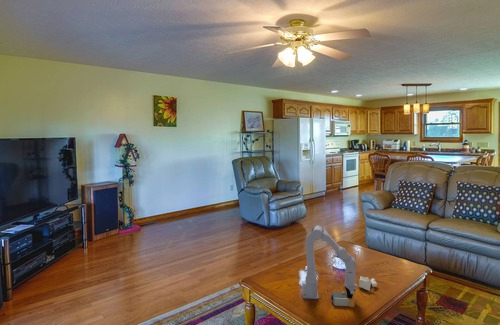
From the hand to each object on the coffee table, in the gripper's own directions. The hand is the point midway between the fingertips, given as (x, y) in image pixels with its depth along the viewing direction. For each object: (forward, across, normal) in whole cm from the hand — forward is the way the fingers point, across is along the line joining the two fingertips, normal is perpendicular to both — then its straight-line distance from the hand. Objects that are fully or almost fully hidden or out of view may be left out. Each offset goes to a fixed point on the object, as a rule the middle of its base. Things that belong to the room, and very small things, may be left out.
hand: (349, 299), depth 179 cm
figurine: (-3, +14, -10) cm, 17 cm away
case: (+2, -1, +6) cm, 6 cm away
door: (+2, -5, +4) cm, 7 cm away
